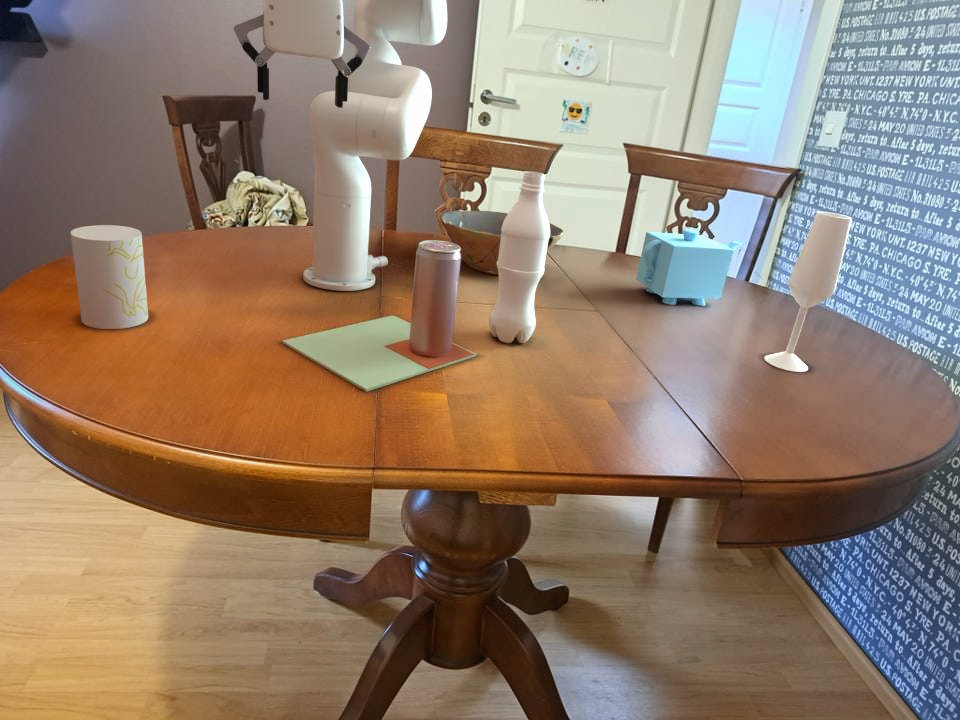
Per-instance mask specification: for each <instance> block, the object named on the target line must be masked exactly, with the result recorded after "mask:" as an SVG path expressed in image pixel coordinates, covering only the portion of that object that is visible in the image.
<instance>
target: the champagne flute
mask: <svg viewBox="0 0 960 720" xmlns="http://www.w3.org/2000/svg"><path fill="white" fill-rule="evenodd" d="M852 220H853V218H852V217H851V216H850V215H849V216H848V215H845V214H840V213H835V212H829V211H816V214H815V216H814V219H813V221H812V224H811V226H810V228H809V230H808V233H807V235H806V238H805V240H804V242H803V244H802V247H801V250H800V251H799V254H798V257H797V258H796V261H795V263H794V266H793V268H792V270H791V273H790V275H789V277H788V280H787V286H788V289H789V292H790V294H791V296H792V297H793V299H794V300H795V302H796V303H797V304H798V305H799V309H798V312H797V315H796V318H795V320H794V324H793V327H792V331H791V334H790V336H789V340H788V343H787V346H786V349H785V351H780V352H776V353H772V354H768V355H767V354H766V355H765V356H764V357H763V358H764V361H765V362H767V363H768V364H769V365H771V366H773V367H776V368H778V369H781V370H784V371H789V372H795V373H804V372H807V371H808V370H809V367H808V366H807V365H806V363H804V361H802V360H801V358H799V357H798V356H797V354H795V353H794V352H795V350H796V346H797V343H798V341H799V337H800V335H801V331H802V329H803V325H804V322H805V320H806V316H807V313H808V310H809V308H813V307H816V306H818V305H819V304H821V303H823V302H825V301H827V300H828V299H829V298H831V297H832V296H833V295H834V294H835V292H836V289H837V284H838V281H839V276H840V271H841V268H842V263H843V259H844V254H845V250H846V247H847V242H848V237H849V233H850V230H851V229H850V228H851V225H852Z"/></svg>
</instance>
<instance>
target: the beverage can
mask: <svg viewBox="0 0 960 720" xmlns="http://www.w3.org/2000/svg"><path fill="white" fill-rule="evenodd" d="M460 250H461V248H460V246H458V245H457V244H454V243H452V241H451V242H450V241H445V240H437V239H436V240H435V239H427V240H422V241H419V242H418V246H417V249H416V252H415V265H414V276H413V289H412V301H411V313H410V314H411V315H410V323H411V324H410V336H409V345H410V348H411V349H412V351H413V352H415V353H416V354H419V355H422V356H427V357H440V356H443V355H446V354H447V353H448V352H449V351H450V349H451V346H452V343H453V337H454V327H455V318H456V308H457V300H458V291H459V290H458V289H459V280H460V272H461V271H460V270H461V263H462V257H461V253H460Z"/></svg>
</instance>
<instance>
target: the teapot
mask: <svg viewBox="0 0 960 720" xmlns="http://www.w3.org/2000/svg"><path fill="white" fill-rule="evenodd" d="M744 244H745V241H737V240H735V241H734V240H733V241H730V242H728V243H727V244H726V245H725V244H722V243H720V242H718V241H715V240H713V239H712V238H708V237H706V236H704V235H702V234H700V232H699V231H697V230H694V229H691V228H690V229H688V228H684V229H683V230H682V233H671V232H656V231H646V232H645V236H644V241H643V245H642V251H641V254H640V260H639V263H638V268H637V273H636V277H635V281H637V282H639V283H640V284H641V285H643V286H645V287H646V290H645V291H646V292H647V293H650V294H657V295H658V296H660V297H661V298H662V300H661V302H662V304H663V303H664V304H666V305H671V306H674V305H677V300H678V299H690V301H691V303H692V304H693V305H696V306H706V302H705V300H721V298H722V294H723V291H724V287H725V284H726V280H727V277H728V273H729V270H730V266H731V262H732V258H733V254H734V251H735V250H736V249H737V248H738V247H740V246H742V245H744Z"/></svg>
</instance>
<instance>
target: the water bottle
mask: <svg viewBox="0 0 960 720" xmlns="http://www.w3.org/2000/svg"><path fill="white" fill-rule="evenodd" d="M522 175H523V177H522V181H521V183H520V184H521V185H520V186H519V190H520V193H519V195H518V198H517V200H516V201H515V203H514V204H513V206H512V207H511V209H510V210H509V211H508V212H507V213H508V215H507V216H506V218H505V220H504V222H503V224H502V228H501V231H502V233H501V241H500V248H499V256H498V261H497V267H498V274H499V275H498V290H497V295H496V296H497V297H496V300H495V303H494V306H493V308H492V311H491V312H490V314H489V319H488V322H489V323H488V325H489V330H490V333H491V335H492V337H494V338H497V339H498V340H499V341H500V342H502V343H506V344H511V343H512V342H513V341H514V340H515V338H516V340H517V342H518V343H519V344H525V343H527V342H528V341H529V339H530V338H531V337H532V335H533V334H534V331H535V328H536V324H537V321H536V314H535V296H536V290H537V287H538V284H539V282H540V281H541V279H542V277H543V275H544V274H545V270H546V269H545V264H546V259H547V258H546V257H547V253H548V251H547V246H548V240H549V238H550V225H549V223H550V222H549V219H548V215H547V212H546V210H545V206H544V201H543V193H545V188H544V187H545V185H544V183H545V178H546V175H545V174H544V173H543V172H538V171H531V170H525V171H523V174H522Z"/></svg>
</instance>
